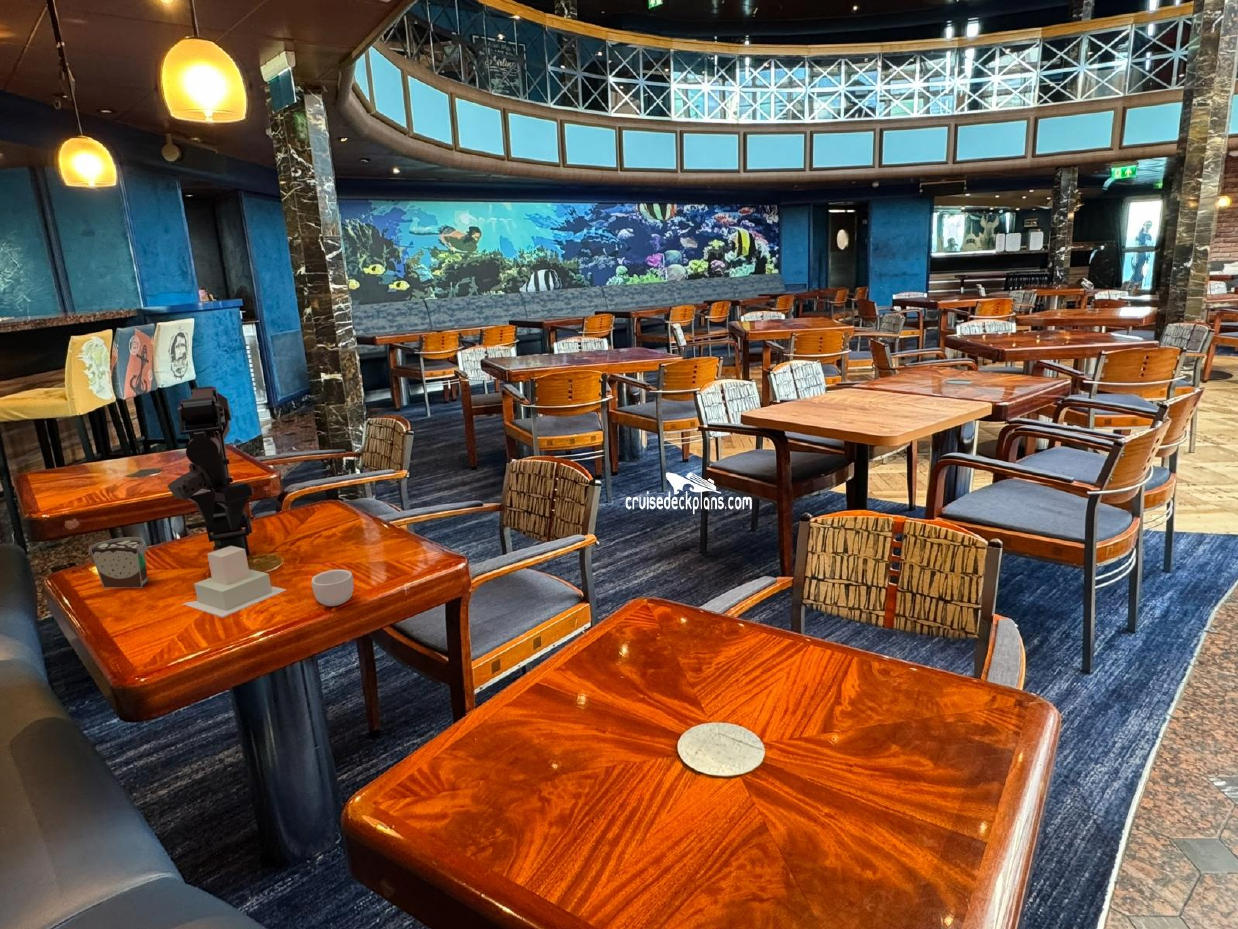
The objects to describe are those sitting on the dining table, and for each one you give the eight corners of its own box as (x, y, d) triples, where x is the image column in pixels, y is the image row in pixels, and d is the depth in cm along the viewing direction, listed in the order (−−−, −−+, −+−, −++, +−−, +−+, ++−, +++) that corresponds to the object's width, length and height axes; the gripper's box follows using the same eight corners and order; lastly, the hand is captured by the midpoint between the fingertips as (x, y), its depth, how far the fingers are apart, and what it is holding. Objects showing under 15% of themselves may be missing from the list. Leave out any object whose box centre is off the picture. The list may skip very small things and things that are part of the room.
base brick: (243, 584, 159) (240, 566, 158) (272, 591, 153) (268, 573, 153) (197, 601, 150) (194, 583, 149) (226, 610, 145) (222, 591, 144)
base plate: (247, 583, 161) (246, 579, 161) (287, 594, 154) (286, 589, 154) (183, 608, 150) (182, 604, 150) (223, 621, 143) (222, 616, 143)
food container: (167, 577, 168) (158, 535, 165) (148, 588, 162) (139, 545, 160) (118, 577, 169) (108, 536, 167) (97, 588, 163) (86, 546, 161)
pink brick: (235, 572, 154) (230, 545, 153) (250, 576, 152) (244, 549, 150) (212, 581, 150) (207, 553, 149) (226, 585, 148) (221, 557, 146)
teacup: (363, 599, 150) (360, 574, 148) (329, 613, 144) (325, 588, 143) (335, 588, 156) (331, 564, 154) (301, 601, 150) (297, 577, 148)
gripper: (145, 462, 154) (160, 532, 158) (195, 469, 145) (210, 544, 148) (198, 450, 163) (211, 517, 167) (248, 456, 154) (260, 527, 157)
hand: (221, 526), depth 160 cm, fingers open, 9 cm apart
